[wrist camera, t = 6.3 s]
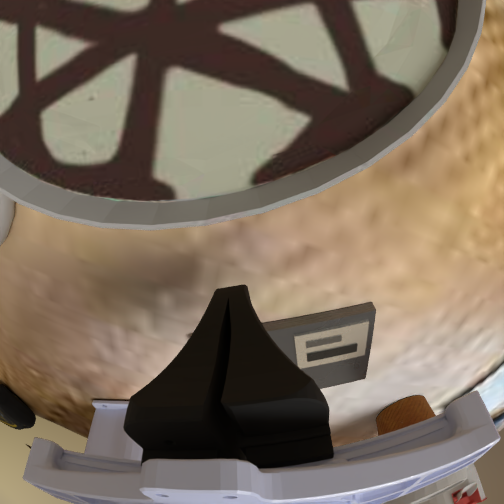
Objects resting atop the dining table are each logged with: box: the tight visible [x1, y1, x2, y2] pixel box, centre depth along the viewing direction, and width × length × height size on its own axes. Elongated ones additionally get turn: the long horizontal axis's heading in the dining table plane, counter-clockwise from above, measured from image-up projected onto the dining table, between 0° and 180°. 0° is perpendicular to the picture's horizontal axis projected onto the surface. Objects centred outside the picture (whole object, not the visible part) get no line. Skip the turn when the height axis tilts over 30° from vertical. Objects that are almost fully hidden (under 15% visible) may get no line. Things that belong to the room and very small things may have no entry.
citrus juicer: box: [420, 463, 487, 504], centre depth 36 cm, size 16×17×20 cm
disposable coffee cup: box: [376, 395, 469, 504], centre depth 23 cm, size 10×10×12 cm
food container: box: [0, 0, 486, 230], centre depth 8 cm, size 12×6×10 cm, turn 89°
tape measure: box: [0, 384, 36, 430], centre depth 25 cm, size 7×7×4 cm
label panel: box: [262, 302, 376, 389], centre depth 21 cm, size 12×8×1 cm, turn 100°
